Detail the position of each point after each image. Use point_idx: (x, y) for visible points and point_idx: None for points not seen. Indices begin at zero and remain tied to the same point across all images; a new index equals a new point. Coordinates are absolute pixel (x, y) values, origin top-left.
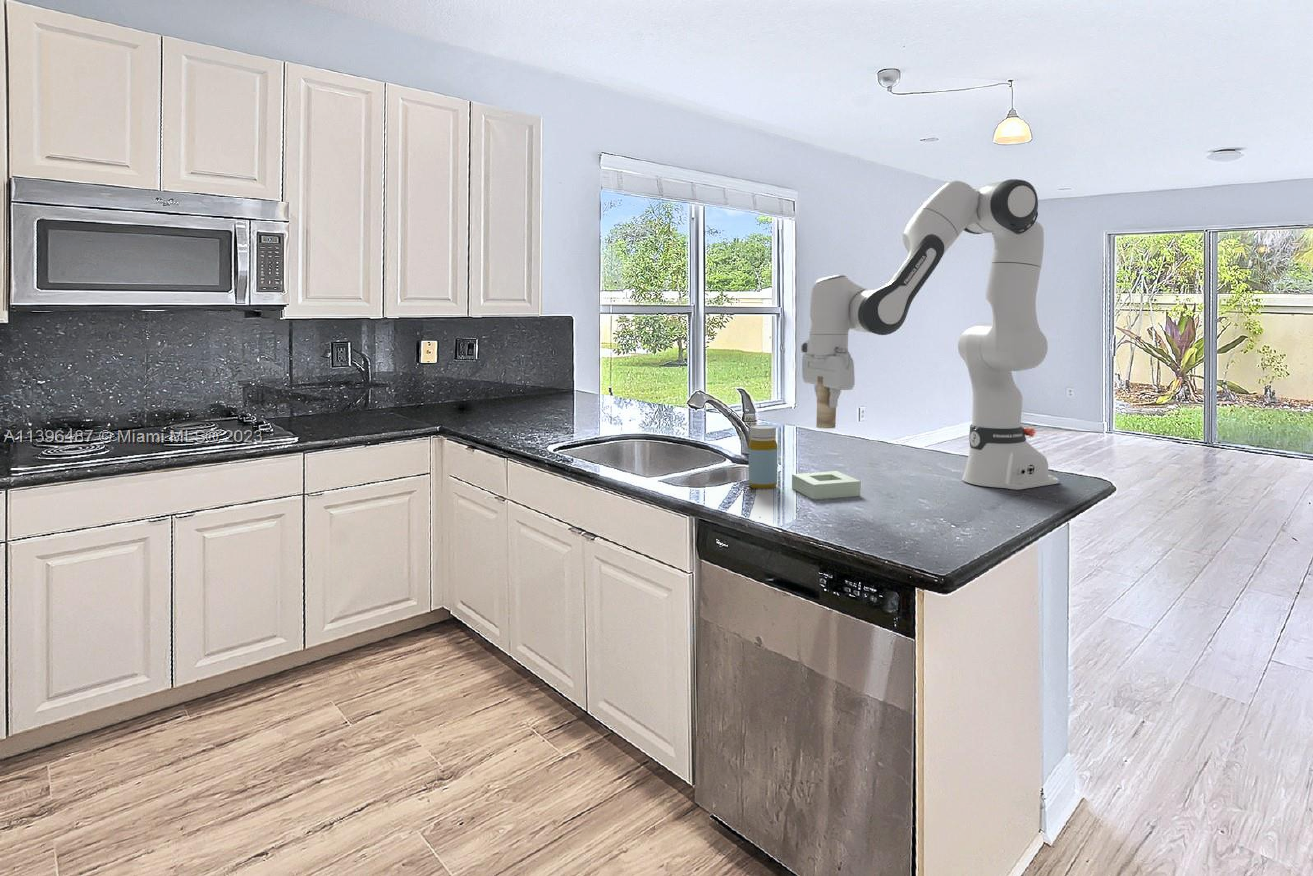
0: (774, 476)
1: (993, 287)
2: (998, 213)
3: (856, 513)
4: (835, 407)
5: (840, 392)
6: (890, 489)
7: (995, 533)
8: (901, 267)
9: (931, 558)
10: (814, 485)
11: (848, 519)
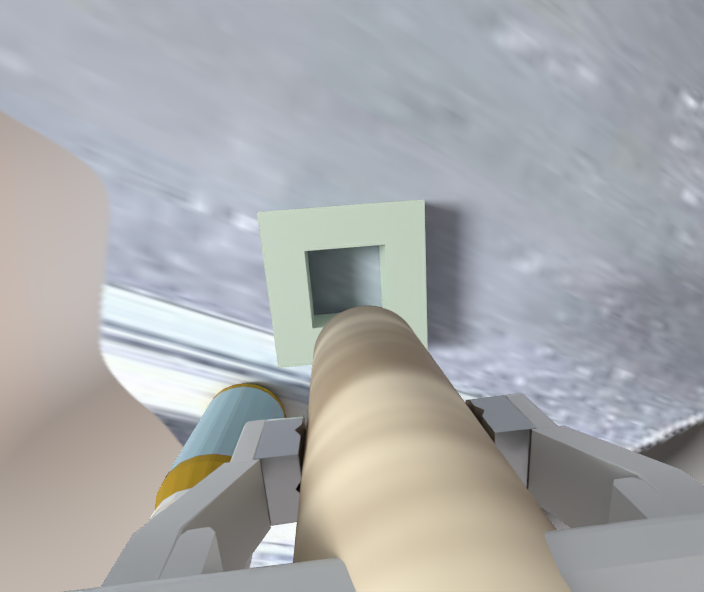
0: (273, 412)
1: None
2: None
3: (565, 285)
4: (438, 370)
5: (684, 474)
6: (360, 65)
7: None
8: None
9: None
10: (426, 348)
11: (601, 322)
